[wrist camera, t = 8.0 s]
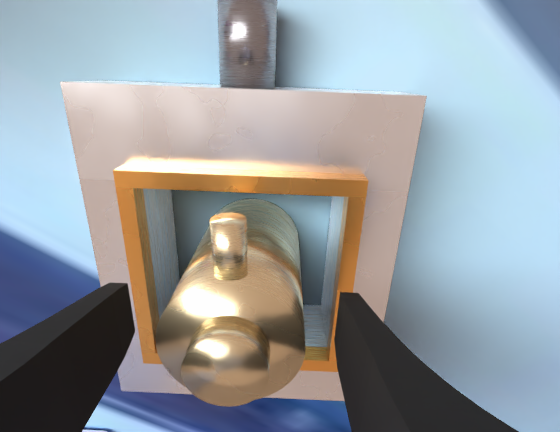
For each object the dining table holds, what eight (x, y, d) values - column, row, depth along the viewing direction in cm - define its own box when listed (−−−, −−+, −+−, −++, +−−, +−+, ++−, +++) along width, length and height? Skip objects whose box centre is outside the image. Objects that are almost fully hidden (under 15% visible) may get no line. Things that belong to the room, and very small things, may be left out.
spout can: (297, 281, 17) (304, 433, 10) (210, 279, 18) (153, 429, 10) (301, 164, 15) (314, 250, 8) (201, 162, 15) (118, 246, 8)
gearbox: (356, 354, 19) (372, 417, 16) (145, 345, 19) (113, 405, 16) (412, 6, 13) (460, -21, 9) (92, -6, 13) (18, -36, 9)
